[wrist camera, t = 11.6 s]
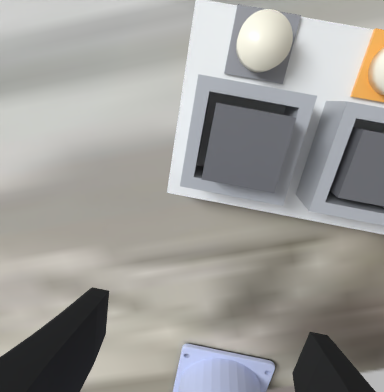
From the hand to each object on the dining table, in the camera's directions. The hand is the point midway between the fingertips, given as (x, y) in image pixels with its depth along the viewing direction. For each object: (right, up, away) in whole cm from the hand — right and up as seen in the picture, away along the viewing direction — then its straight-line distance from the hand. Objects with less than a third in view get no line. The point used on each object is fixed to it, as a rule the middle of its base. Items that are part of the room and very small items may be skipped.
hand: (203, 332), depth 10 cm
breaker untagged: (+2, +8, +4) cm, 9 cm away
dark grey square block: (+9, +7, +5) cm, 12 cm away
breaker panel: (+10, +8, +7) cm, 15 cm away
